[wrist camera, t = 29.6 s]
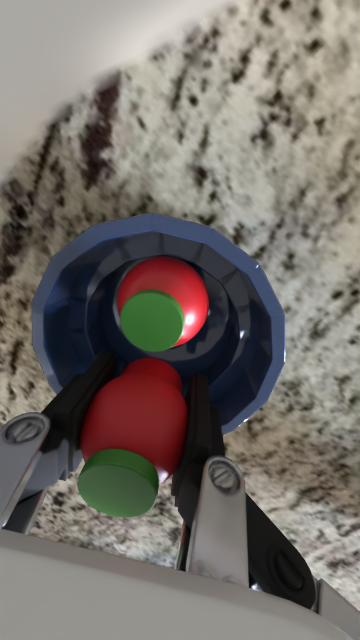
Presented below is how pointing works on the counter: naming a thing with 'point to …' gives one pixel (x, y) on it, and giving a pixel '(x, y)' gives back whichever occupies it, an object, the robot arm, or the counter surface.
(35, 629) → the robot arm
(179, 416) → the red rounded bottle shape
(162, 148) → the counter surface
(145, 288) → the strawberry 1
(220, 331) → the bowl
